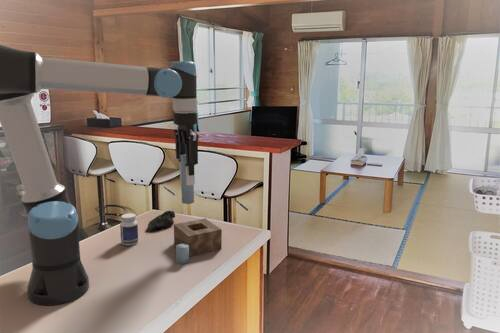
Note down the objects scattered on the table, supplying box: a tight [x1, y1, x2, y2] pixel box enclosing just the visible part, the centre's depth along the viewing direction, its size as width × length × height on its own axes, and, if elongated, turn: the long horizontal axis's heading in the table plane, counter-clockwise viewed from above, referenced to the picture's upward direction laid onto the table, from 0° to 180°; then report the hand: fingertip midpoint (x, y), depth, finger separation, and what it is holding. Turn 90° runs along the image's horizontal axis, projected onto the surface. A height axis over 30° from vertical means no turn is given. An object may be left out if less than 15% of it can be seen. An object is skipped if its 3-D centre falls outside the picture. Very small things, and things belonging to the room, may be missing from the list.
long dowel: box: [180, 154, 195, 205], centre depth 140 cm, size 4×4×16 cm
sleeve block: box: [173, 217, 223, 257], centre depth 145 cm, size 12×12×7 cm
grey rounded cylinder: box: [175, 244, 190, 265], centre depth 134 cm, size 4×4×5 cm
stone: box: [146, 210, 176, 232], centre depth 162 cm, size 7×13×5 cm, turn 145°
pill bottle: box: [119, 212, 139, 247], centre depth 146 cm, size 6×6×10 cm
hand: (187, 182), depth 140 cm, fingers closed on long dowel, 4 cm apart
